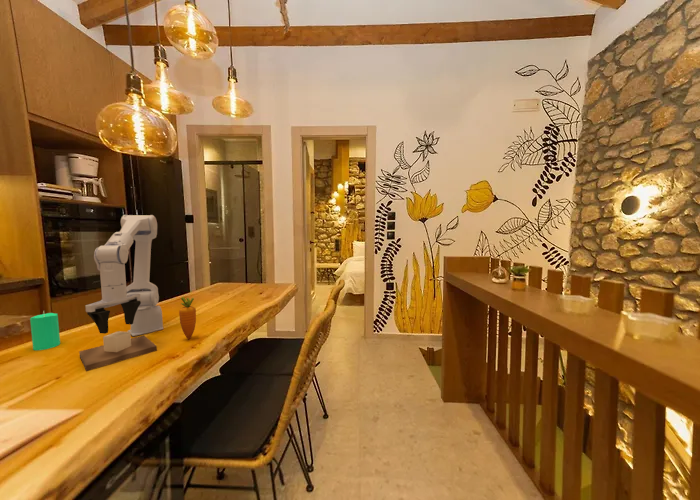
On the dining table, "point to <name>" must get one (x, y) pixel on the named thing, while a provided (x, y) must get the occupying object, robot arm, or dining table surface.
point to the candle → (45, 331)
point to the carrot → (187, 317)
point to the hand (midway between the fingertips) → (117, 328)
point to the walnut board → (116, 353)
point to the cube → (117, 341)
